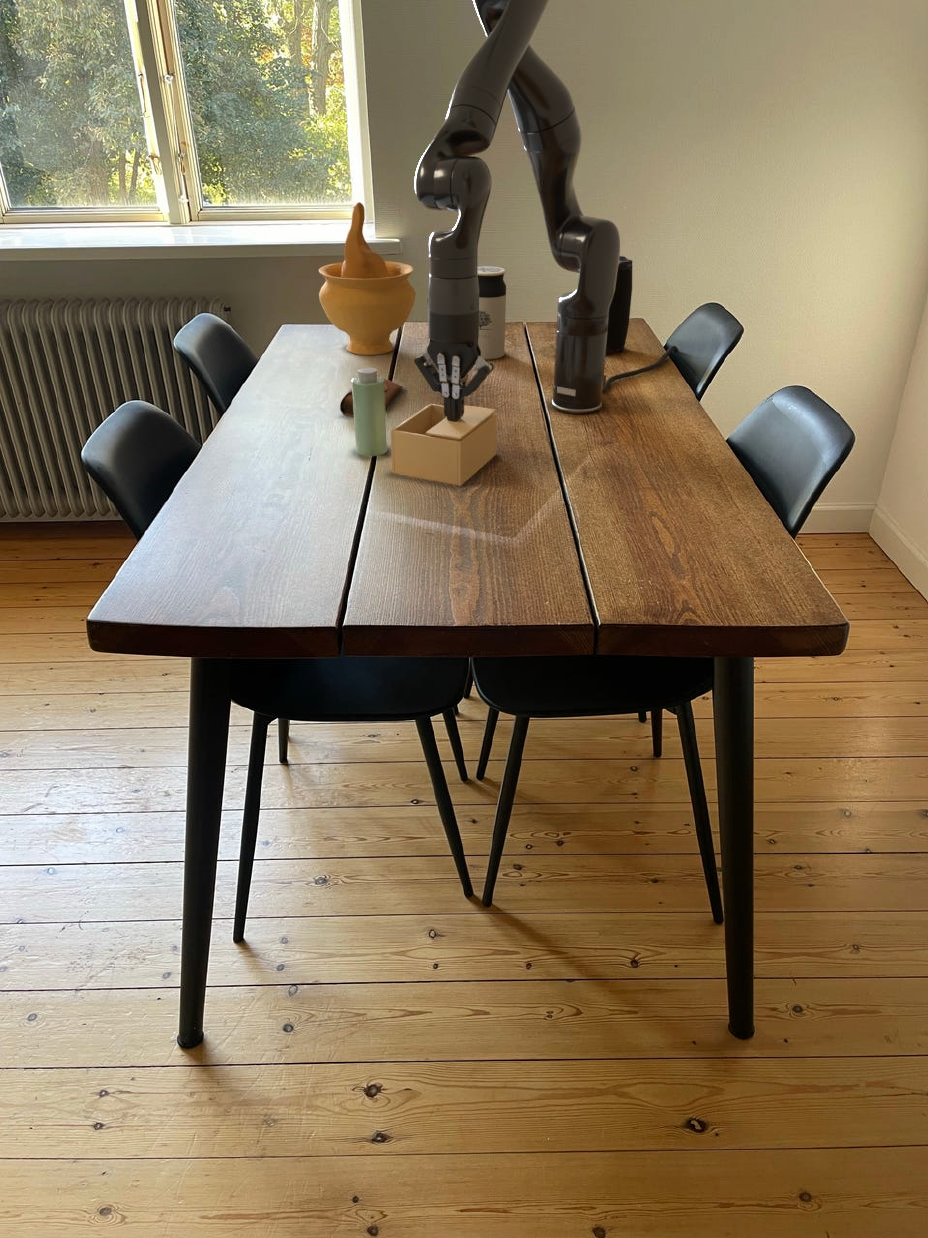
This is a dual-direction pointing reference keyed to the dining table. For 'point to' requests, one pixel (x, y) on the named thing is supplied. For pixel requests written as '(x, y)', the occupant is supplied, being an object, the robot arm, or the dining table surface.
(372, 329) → the mortar and pestle
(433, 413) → the carton
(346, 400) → the leather pouch
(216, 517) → the dining table surface
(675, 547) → the dining table surface
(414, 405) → the dining table surface
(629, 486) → the dining table surface
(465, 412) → the flap
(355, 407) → the water bottle
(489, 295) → the travel mug
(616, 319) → the portable speaker
